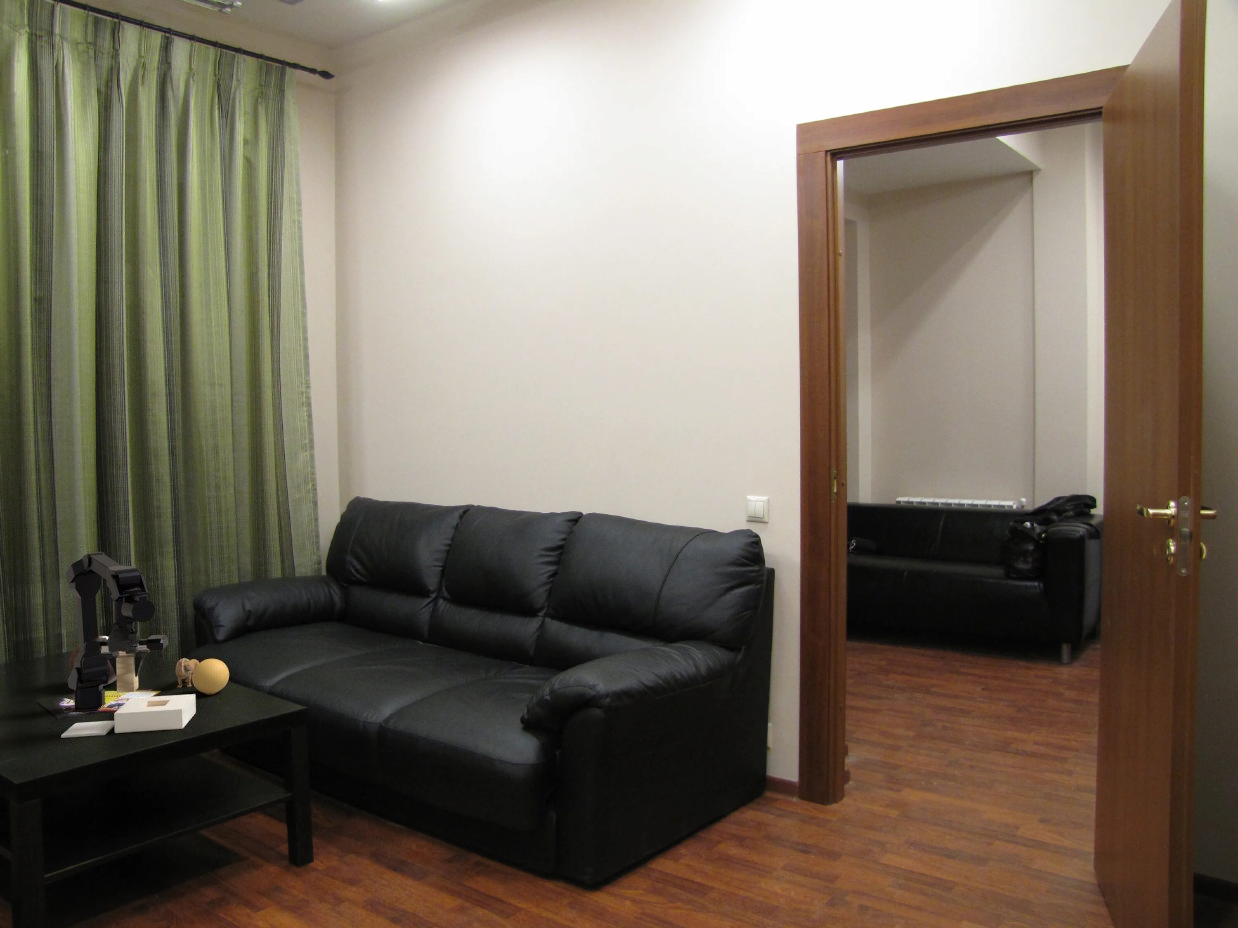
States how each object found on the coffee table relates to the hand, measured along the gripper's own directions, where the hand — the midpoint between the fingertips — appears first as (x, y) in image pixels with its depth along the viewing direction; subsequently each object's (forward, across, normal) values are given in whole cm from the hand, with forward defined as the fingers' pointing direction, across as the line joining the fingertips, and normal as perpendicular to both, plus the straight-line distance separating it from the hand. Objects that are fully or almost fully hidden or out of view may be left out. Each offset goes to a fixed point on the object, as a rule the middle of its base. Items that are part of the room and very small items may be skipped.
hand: (127, 676), depth 244 cm
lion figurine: (+13, +7, +39) cm, 42 cm away
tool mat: (+13, -8, -2) cm, 15 cm away
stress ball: (+13, +15, +27) cm, 33 cm away
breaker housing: (+13, +7, +1) cm, 14 cm away
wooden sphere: (+14, -20, +43) cm, 49 cm away
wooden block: (+4, 0, 0) cm, 4 cm away
